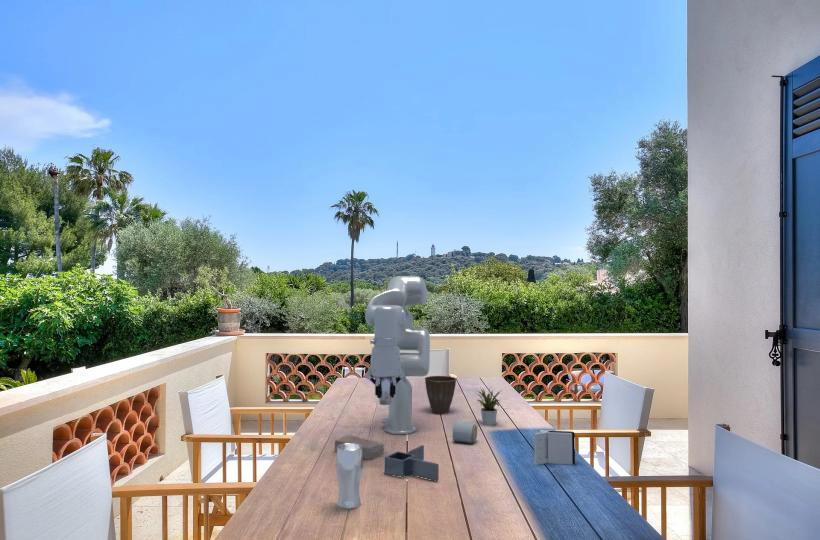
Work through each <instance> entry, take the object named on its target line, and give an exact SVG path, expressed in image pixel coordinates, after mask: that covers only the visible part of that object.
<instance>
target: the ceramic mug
mask: <svg viewBox="0 0 820 540" xmlns="http://www.w3.org/2000/svg"><path fill="white" fill-rule="evenodd" d="M477 438H478V425H477V424H475V423H473V422H466V421H462V420H458V419H457V420H455V421H454V423H453V428H452V440H453V442H456V443H466V444H474V443H475V442H476V440H477Z"/></svg>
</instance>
